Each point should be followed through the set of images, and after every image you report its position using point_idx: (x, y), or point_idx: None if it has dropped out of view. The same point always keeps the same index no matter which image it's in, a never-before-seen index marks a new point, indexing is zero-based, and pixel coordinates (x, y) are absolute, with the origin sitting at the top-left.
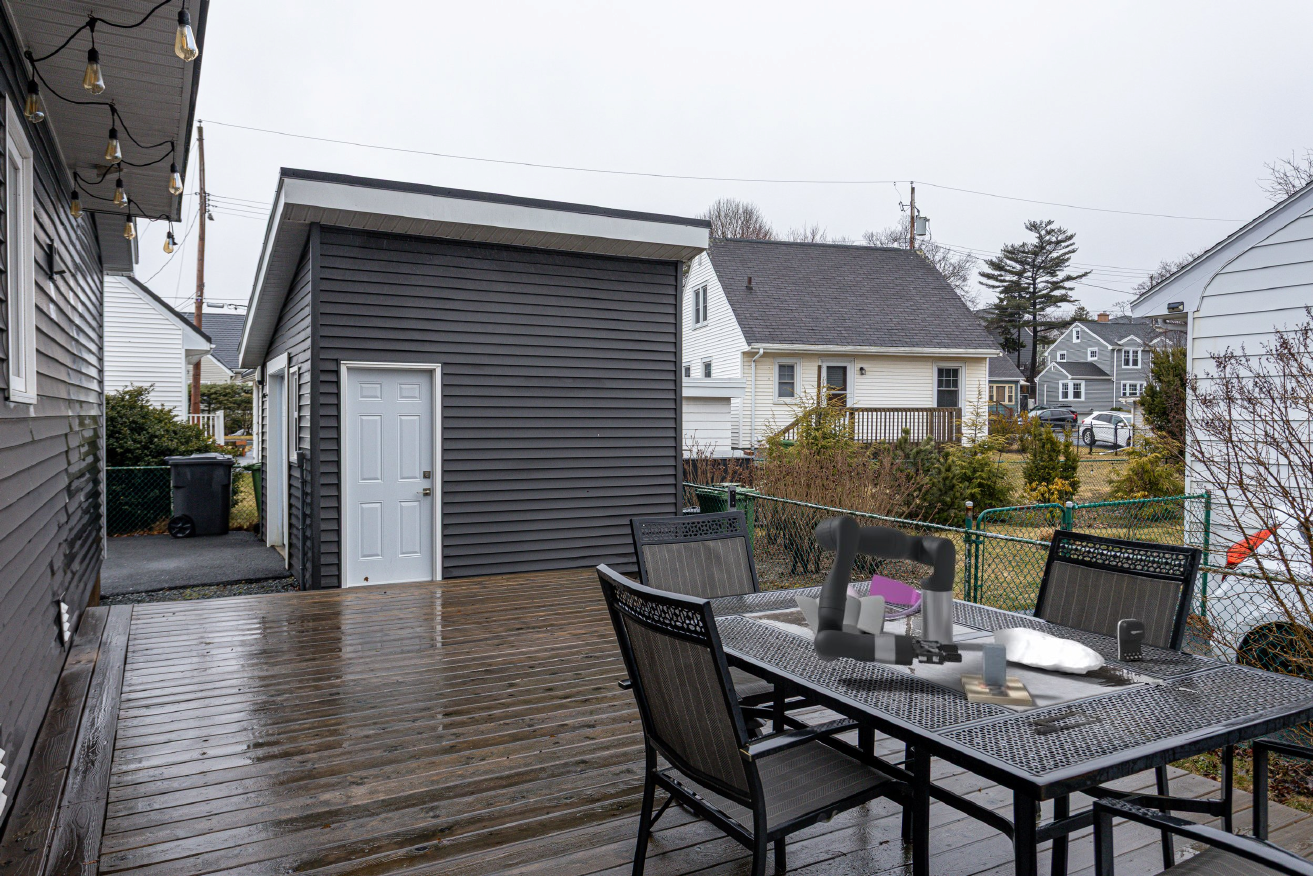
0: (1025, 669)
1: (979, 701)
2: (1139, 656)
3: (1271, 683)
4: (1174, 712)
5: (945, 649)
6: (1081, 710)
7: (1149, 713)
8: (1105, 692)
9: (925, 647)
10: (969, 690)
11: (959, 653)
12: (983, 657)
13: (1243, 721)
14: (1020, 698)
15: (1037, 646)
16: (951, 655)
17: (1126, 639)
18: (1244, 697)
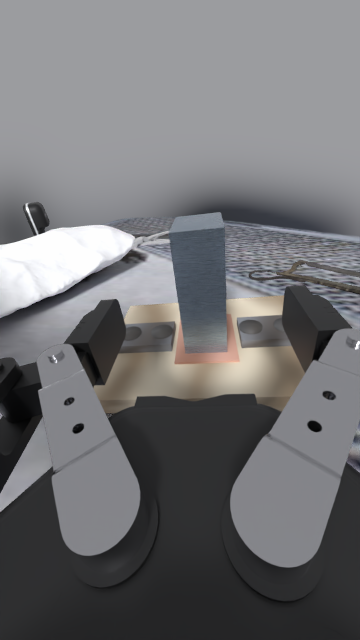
0: (46, 307)
1: None
2: None
3: (133, 221)
4: (231, 237)
5: (102, 357)
6: (268, 271)
7: (244, 244)
8: (170, 260)
9: (338, 478)
10: (278, 389)
11: (295, 287)
12: (195, 277)
13: (238, 223)
14: None
15: (36, 257)
16: (334, 318)
17: (46, 225)
18: (170, 224)
